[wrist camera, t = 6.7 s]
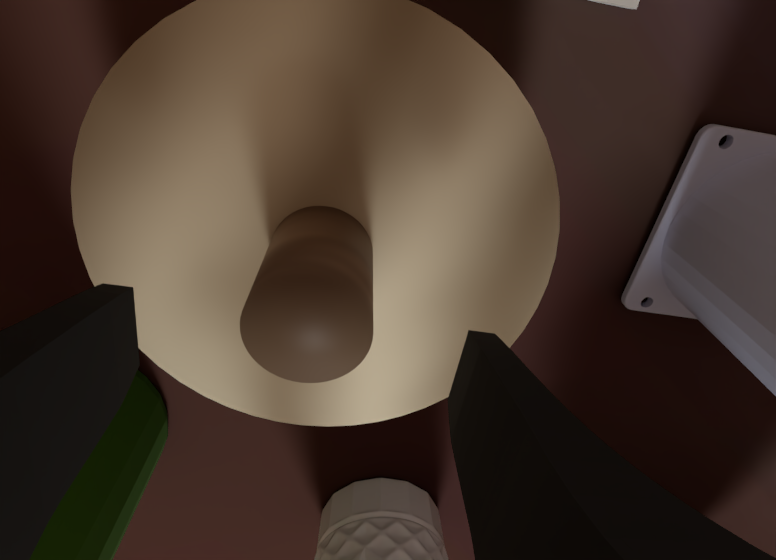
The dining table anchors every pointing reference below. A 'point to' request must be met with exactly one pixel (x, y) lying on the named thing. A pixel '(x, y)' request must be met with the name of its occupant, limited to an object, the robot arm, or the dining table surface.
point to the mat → (620, 3)
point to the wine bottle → (109, 481)
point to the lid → (315, 203)
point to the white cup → (380, 523)
